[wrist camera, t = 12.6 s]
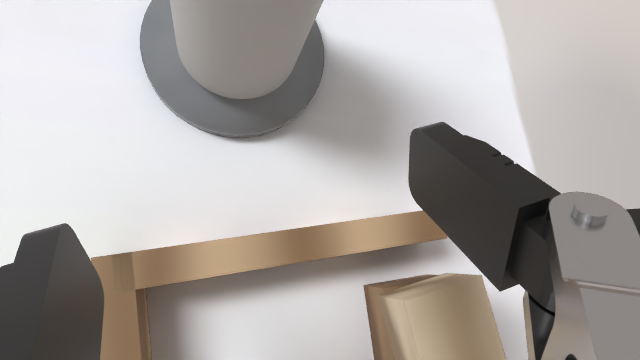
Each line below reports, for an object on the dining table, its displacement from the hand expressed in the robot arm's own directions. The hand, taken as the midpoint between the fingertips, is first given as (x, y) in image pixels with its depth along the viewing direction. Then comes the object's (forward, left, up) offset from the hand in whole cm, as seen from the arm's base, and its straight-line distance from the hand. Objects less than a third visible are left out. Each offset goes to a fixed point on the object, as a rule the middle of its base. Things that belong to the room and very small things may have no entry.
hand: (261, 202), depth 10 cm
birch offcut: (+9, -7, -10) cm, 15 cm away
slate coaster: (+1, +10, -13) cm, 17 cm away
